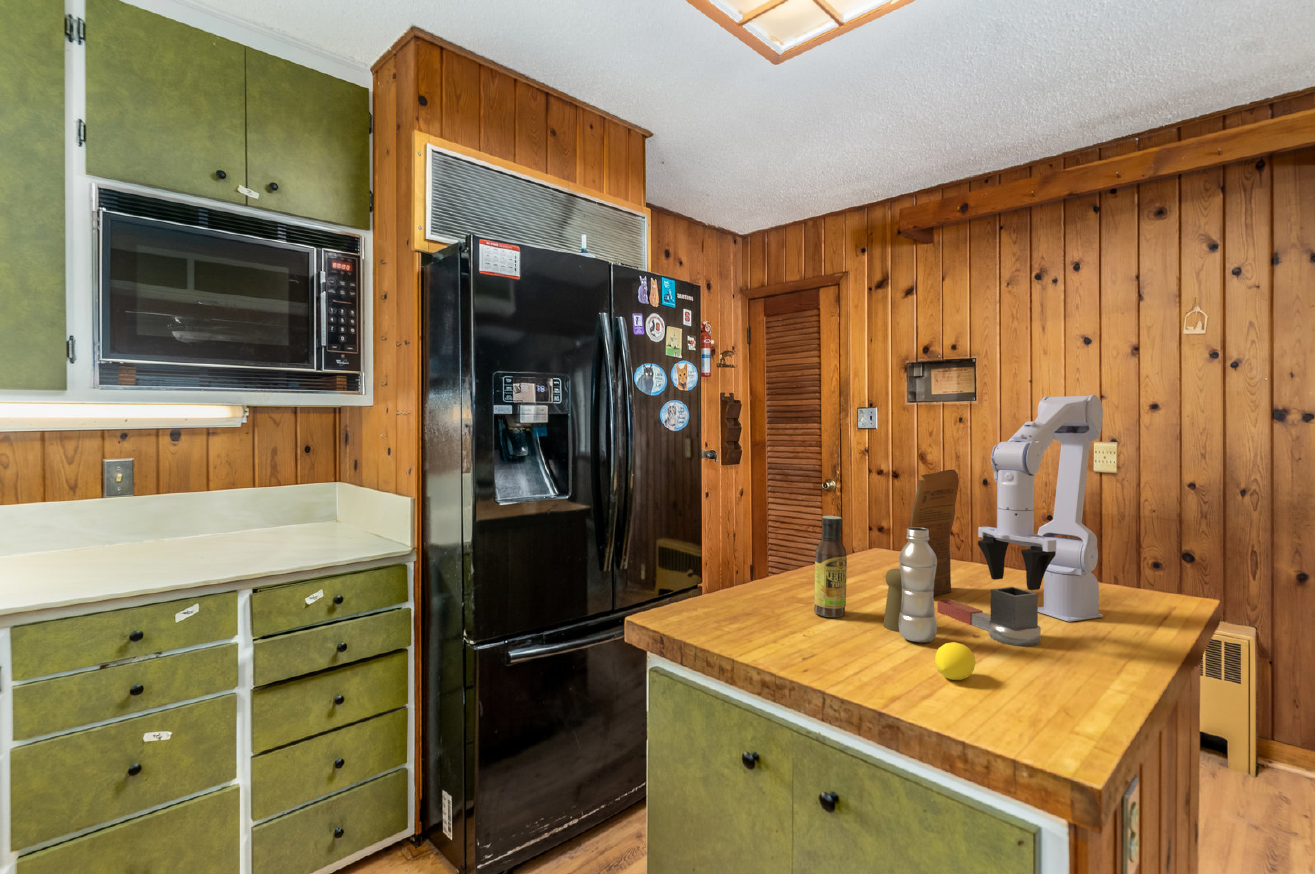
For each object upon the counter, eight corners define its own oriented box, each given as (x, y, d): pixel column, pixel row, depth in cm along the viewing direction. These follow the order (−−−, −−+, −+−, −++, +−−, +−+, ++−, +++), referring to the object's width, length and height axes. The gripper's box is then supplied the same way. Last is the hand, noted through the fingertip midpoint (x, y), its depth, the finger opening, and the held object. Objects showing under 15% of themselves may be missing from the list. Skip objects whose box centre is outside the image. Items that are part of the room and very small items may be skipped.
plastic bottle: (935, 635, 113) (935, 526, 113) (939, 648, 107) (939, 533, 106) (897, 632, 115) (897, 525, 115) (898, 644, 109) (899, 531, 108)
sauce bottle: (827, 620, 122) (827, 520, 122) (807, 611, 128) (807, 515, 127) (853, 616, 125) (853, 517, 124) (833, 608, 130) (833, 513, 130)
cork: (920, 633, 115) (920, 574, 114) (885, 631, 116) (885, 572, 116) (913, 622, 121) (913, 566, 120) (880, 620, 122) (880, 565, 122)
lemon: (962, 692, 91) (960, 657, 90) (927, 680, 95) (925, 647, 95) (985, 674, 95) (982, 640, 94) (950, 663, 99) (948, 631, 99)
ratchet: (958, 609, 129) (958, 582, 129) (1051, 643, 109) (1051, 612, 109) (927, 613, 126) (927, 586, 126) (1016, 648, 107) (1016, 616, 106)
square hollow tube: (1012, 618, 115) (1012, 586, 115) (1037, 627, 110) (1037, 593, 110) (990, 621, 113) (990, 589, 113) (1015, 630, 108) (1015, 596, 108)
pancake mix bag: (969, 590, 143) (969, 469, 142) (920, 604, 132) (920, 473, 132) (941, 584, 149) (942, 467, 148) (892, 597, 138) (893, 471, 137)
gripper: (965, 504, 117) (965, 576, 117) (1034, 515, 103) (1033, 596, 103) (994, 502, 119) (994, 573, 119) (1066, 513, 105) (1065, 592, 105)
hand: (1014, 583), depth 111 cm, fingers open, 7 cm apart
